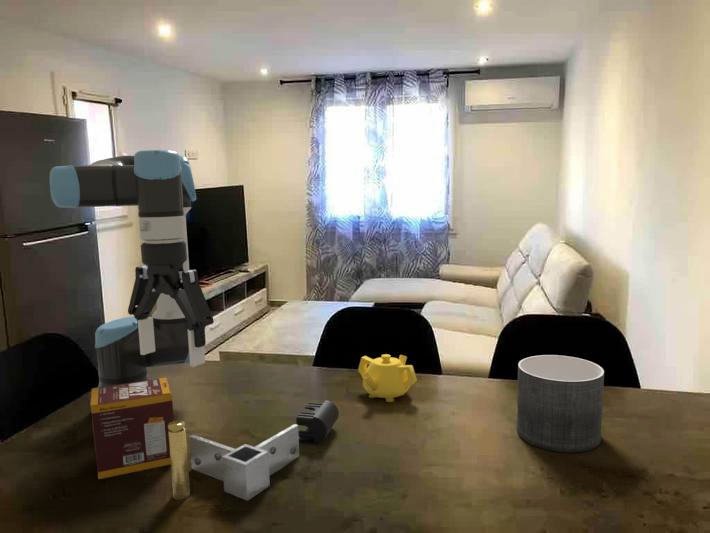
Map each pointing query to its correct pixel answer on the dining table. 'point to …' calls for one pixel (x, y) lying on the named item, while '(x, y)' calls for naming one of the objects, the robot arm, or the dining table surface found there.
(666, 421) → the dining table surface
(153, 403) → the supplement box
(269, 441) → the hinge leaves
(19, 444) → the dining table surface
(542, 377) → the planter
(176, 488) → the hinge pin
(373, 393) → the teapot
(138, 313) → the robot arm
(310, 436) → the end cap
